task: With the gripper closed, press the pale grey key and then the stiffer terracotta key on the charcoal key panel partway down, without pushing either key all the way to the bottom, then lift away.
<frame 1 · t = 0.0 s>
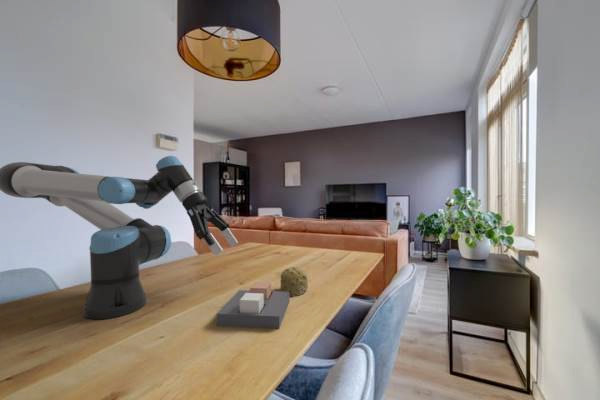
hand: (227, 248, 88), 15 cm above the table, tool tilted 35°, fingers open, 13 cm apart
rock: (293, 291, 92), on the table
key soft: (252, 303, 70), point 4 cm above the table, slide at 0.0 cm
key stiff: (260, 291, 79), point 4 cm above the table, slide at 0.0 cm
key panel: (256, 312, 75), on the table
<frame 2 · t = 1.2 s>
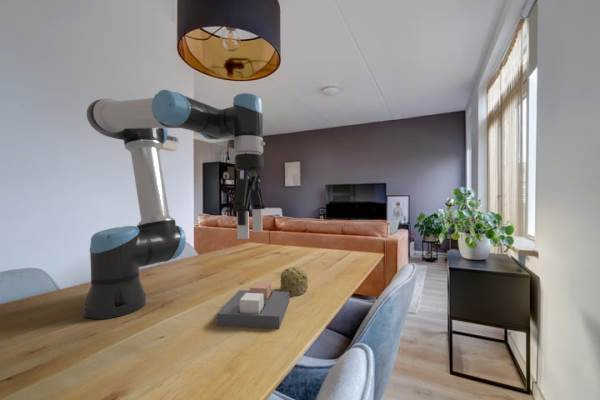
hand: (251, 235, 71), 22 cm above the table, tool pointing down, fingers open, 13 cm apart
nothing on the table moved.
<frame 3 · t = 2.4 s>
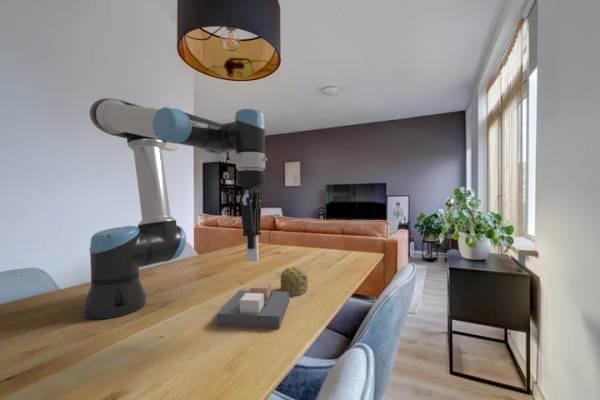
hand: (252, 260, 70), 16 cm above the table, tool pointing down, fingers closed
nothing on the table moved.
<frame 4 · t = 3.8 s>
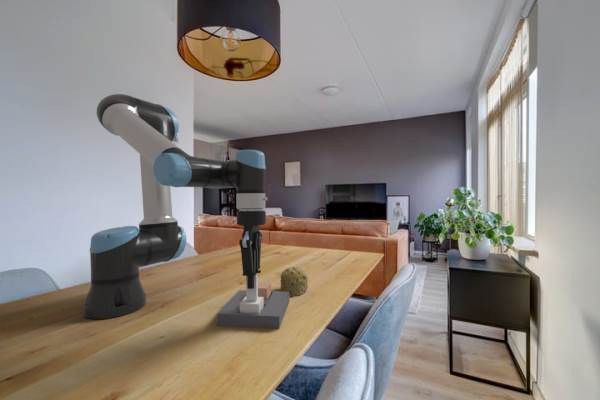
hand: (252, 299, 70), 5 cm above the table, tool pointing down, fingers closed
key soft: (252, 306, 70), point 3 cm above the table, slide at 0.9 cm, touching gripper
everything else where it was.
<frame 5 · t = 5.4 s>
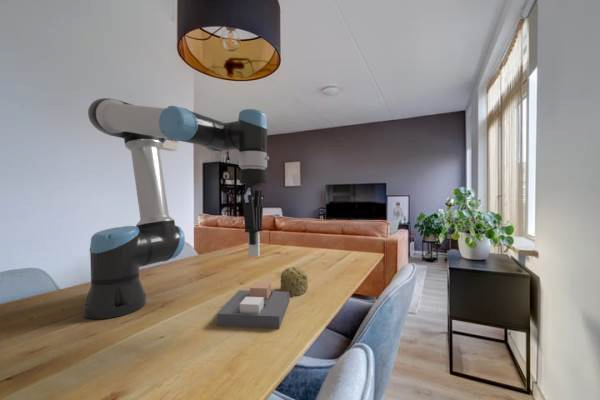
hand: (254, 255, 72), 16 cm above the table, tool pointing down, fingers closed
key soft: (252, 307, 70), point 3 cm above the table, slide at 1.0 cm
everything else where it was.
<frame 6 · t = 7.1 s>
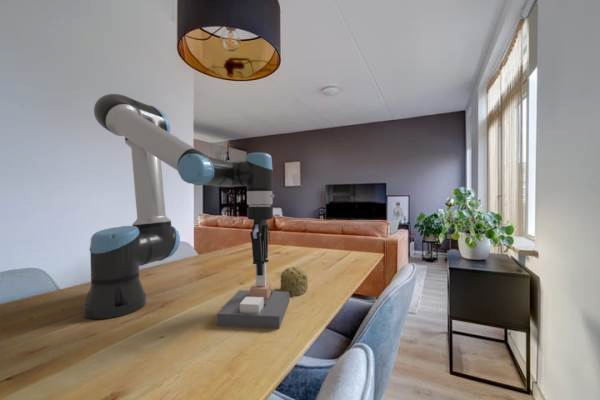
hand: (261, 285, 79), 6 cm above the table, tool pointing down, fingers closed
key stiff: (260, 291, 79), point 4 cm above the table, slide at 0.2 cm, touching gripper
everything else where it was.
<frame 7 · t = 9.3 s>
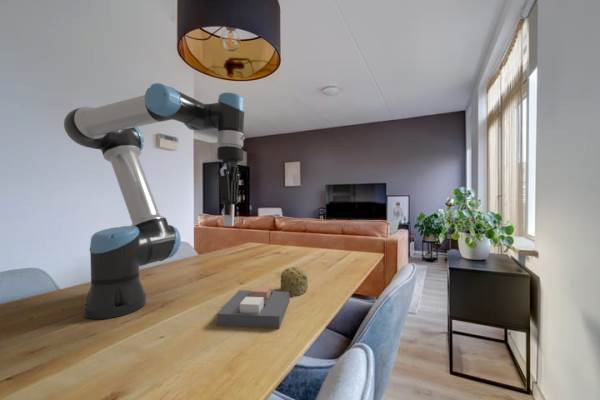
hand: (228, 225, 81), 24 cm above the table, tool pointing down, fingers closed
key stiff: (260, 294, 79), point 3 cm above the table, slide at 1.0 cm
everything else where it was.
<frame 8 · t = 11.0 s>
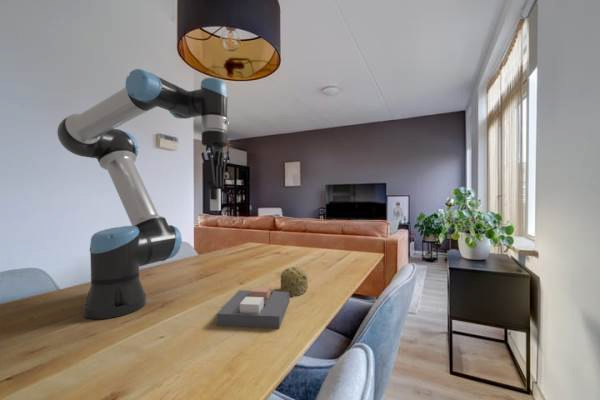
hand: (215, 210, 81), 28 cm above the table, tool pointing down, fingers closed
nothing on the table moved.
at the end: key soft slide at 1.0 cm; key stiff slide at 1.0 cm; rock moved 0.3 cm from its start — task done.
